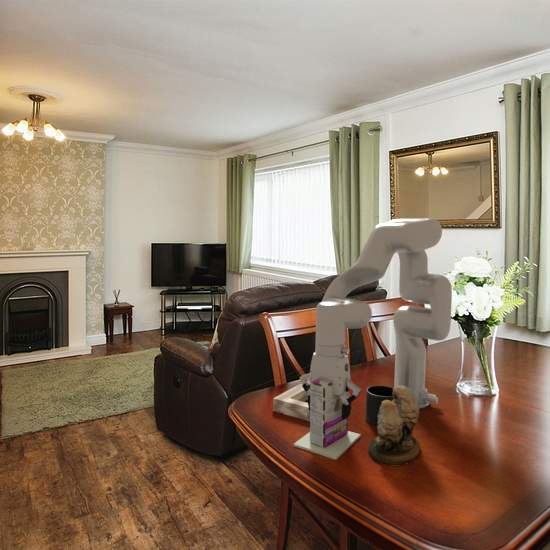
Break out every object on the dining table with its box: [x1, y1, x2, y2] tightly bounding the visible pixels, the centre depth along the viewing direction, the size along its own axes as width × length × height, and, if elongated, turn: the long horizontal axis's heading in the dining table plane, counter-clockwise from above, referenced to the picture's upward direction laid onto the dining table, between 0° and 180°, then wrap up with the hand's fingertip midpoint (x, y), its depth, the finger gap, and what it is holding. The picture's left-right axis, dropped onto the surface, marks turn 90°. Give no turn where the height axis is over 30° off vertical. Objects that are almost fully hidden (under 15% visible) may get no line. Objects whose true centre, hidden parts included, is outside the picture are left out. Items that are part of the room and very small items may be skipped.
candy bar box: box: [309, 380, 349, 448], centre depth 115 cm, size 11×5×16 cm, turn 138°
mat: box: [293, 430, 361, 460], centre depth 116 cm, size 12×15×1 cm
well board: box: [272, 380, 350, 422], centre depth 139 cm, size 16×20×4 cm
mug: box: [365, 385, 394, 427], centre depth 130 cm, size 9×12×9 cm
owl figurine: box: [368, 385, 421, 466], centre depth 111 cm, size 18×12×17 cm, turn 147°
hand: (328, 413), depth 115 cm, fingers open, 9 cm apart
